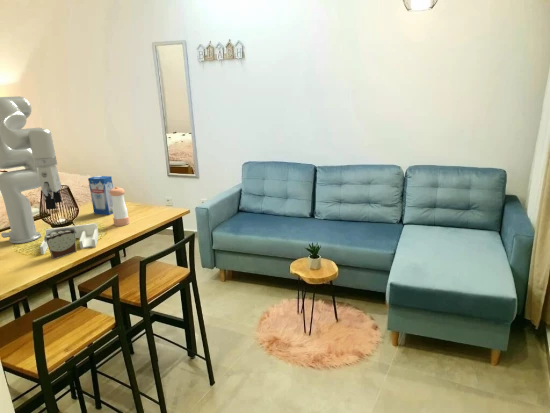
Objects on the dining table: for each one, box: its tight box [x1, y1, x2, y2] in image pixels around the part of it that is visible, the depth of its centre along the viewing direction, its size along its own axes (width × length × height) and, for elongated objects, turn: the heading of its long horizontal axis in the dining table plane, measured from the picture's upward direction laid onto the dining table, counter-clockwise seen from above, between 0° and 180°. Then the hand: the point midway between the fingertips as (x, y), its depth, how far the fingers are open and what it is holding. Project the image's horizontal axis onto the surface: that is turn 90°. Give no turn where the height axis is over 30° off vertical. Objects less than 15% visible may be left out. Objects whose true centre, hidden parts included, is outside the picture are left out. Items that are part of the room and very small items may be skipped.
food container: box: [43, 228, 77, 260], centre depth 168 cm, size 12×6×10 cm, turn 141°
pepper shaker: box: [110, 186, 130, 227], centre depth 202 cm, size 7×7×19 cm
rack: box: [39, 222, 99, 255], centre depth 178 cm, size 21×16×6 cm
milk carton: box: [87, 175, 114, 216], centre depth 221 cm, size 10×6×20 cm, turn 73°
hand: (54, 205), depth 159 cm, fingers open, 9 cm apart
